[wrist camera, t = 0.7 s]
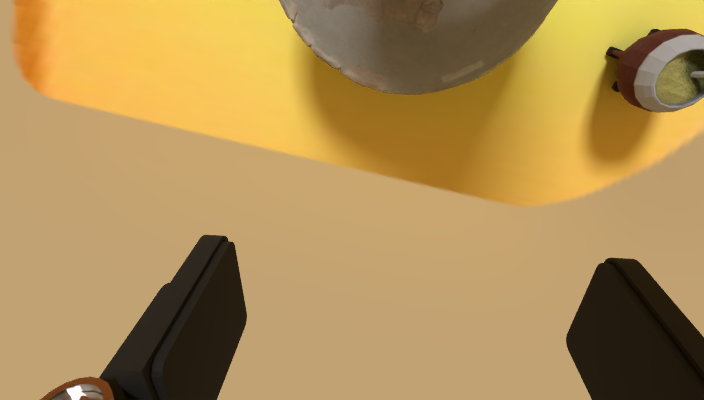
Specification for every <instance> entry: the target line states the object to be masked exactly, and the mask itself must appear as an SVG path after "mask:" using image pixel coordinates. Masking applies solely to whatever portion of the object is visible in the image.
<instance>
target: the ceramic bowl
mask: <svg viewBox="0 0 704 400" xmlns="http://www.w3.org/2000/svg"><path fill="white" fill-rule="evenodd" d="M279 1H280V3H281V5H282V7H283V9H284V11H285V13H286V15H287V17H288V18H289V19H291V21H292V23H293V28H294V29H295V31H296V32H297V33H298V35H299V36H300V37H301V39H302V40H303V41H304V42H305V43H306V45H307V46H309V47H311V49H312V50H313V51H314V53H315V54H316V55H317V56H318V57H319V58H320V59H322V60H323V61H325V62H326V63H327V64H329V65H330V66H331V67H332V68H335V69H339V70H340V71H341V73H342V74H343V75H344V76H346V77H347V78H349V79H350V80H352V81H354V82H356V83H358V84H360V85H362V86H365V87H369V88H372V89H376V90H379V91H382V92H385V93H394V94H408V95H416V94H425V93H431V92H437V91H441V90H444V89H448V88H452V87H455V86H458V85H461V84H464V83H467V82H469V81H472V80H475V79H477V78H479V77H481V76H483V75H485V74H486V73H488V72H490V71H491V70H493V69H494V68H495V67H497V66H498V65H500V64H501V63H502V62H504V61H505V60H507V59H508V58H509V57H511V56H512V55H513V54H514V53H515V52H517V51H518V50H519V49H520V48H521V47H522V46H523V45H524V43H525V42H526V41H527V40H528V39H529V38H530V37H531V36H532V35H533V34H534V33H535V32H536V30H537V29H538V28H539V26H540V25H541V24H542V22H543V21H544V20H545V18H546V16H547V15H548V13H549V12H550V10H551V9H552V8H553V6H554V5H555V4H556V2H557V1H558V0H279Z"/></svg>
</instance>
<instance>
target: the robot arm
mask: <svg viewBox="0 0 704 400" xmlns="http://www.w3.org/2000/svg"><path fill="white" fill-rule="evenodd" d="M246 319H247V313H246V307H245V301H244V296H243V290H242V284H241V279H240V272H239V267H238V261H237V256H236V250H235V245H234V243H233V242H229V241H228V238H227V237H226V236H216V235H203V236H202V237H201V238H200V239H199V241H198V242H197V244H196V245H195V247H194V248H193V250H192V251H191V253H190V254H189V256H188V257H187V259H186V260H185V262H184V263H183V265H182V266H181V268H180V269H179V270H178V272H177V273H176V275H175V276H174V278H173V280H172V281H171V282H170V283H167V284H165V285H164V286H163V287H162V288H161V289H160V291H159V292H158V293H157V295H156V296H155V298H154V299H153V301H152V302H151V304H150V305H149V307H148V308H147V309H146V311H145V312H144V314H143V315H142V317H141V318H140V319H139V321H138V322H137V324H136V325H135V327H134V328H133V330H132V331H131V333H130V334H129V335H128V337H127V338H126V340H125V341H124V343H123V344H122V345H121V347H120V348H119V350H118V351H117V353H116V354H115V355H114V357H113V358H112V360H111V361H110V363H109V364H108V366H107V367H106V369H105V370H104V371H103V373H102V374H101V376H100V377H99V378H95V377H84V378H78V379H75V380H72V381H69V382H66V383H64V384H62V385H61V386H59V387H57V388H55V389H53V390H52V391H50V392H49V393H48V394H47V395H45V396H44V397H43V398H42V399H40V400H217V398H218V395H219V392H220V390H221V387H222V385H223V382H224V380H225V377H226V374H227V372H228V369H229V367H230V364H231V361H232V359H233V356H234V354H235V351H236V349H237V346H238V343H239V341H240V338H241V336H242V333H243V330H244V328H245V325H246ZM566 343H567V347H568V350H569V352H570V354H571V357H572V359H573V361H574V363H575V365H576V367H577V369H578V371H579V373H580V375H581V378H582V380H583V382H584V384H585V386H586V388H587V390H588V392H589V394H590V396H591V399H592V400H704V337H703V336H702V335H701V334H700V332H699V331H698V330H697V329H696V328H695V327H694V325H693V324H692V323H691V322H690V321H689V320H688V319H687V317H686V316H685V315H684V314H683V313H682V311H681V310H680V309H679V308H678V307H677V306H676V305H675V303H674V302H673V301H672V300H671V299H670V297H669V296H668V295H667V294H666V293H665V292H664V290H663V289H662V288H661V287H660V286H659V285H658V284H657V282H656V281H655V280H654V279H653V278H652V276H651V275H650V274H649V273H648V272H647V271H646V269H645V268H644V267H643V266H642V265H641V264H640V263H639V262H638V261H637V260H635V259H623V258H608V259H606V260H605V262H604V263H601V264H599V265H598V266H597V268H596V270H595V273H594V275H593V277H592V279H591V281H590V284H589V286H588V288H587V291H586V293H585V295H584V297H583V300H582V302H581V304H580V306H579V309H578V311H577V313H576V316H575V318H574V320H573V322H572V324H571V327H570V329H569V331H568V333H567V337H566Z"/></svg>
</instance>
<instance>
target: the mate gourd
mask: <svg viewBox="0 0 704 400" xmlns="http://www.w3.org/2000/svg"><path fill="white" fill-rule="evenodd" d="M606 54H607V55H609V56H611V57H614V58H616V59H619V61H618V65H617V70H616V79H617V80H616V82H615V83H614V85H613V86H612V89H613V90H614V91H617V92H621V94H622V95H623V97H624V98H625V99H626V100H627V101H628V102H629V103H630V104H632V105H634V106H637V107H639V108H642V109H645V110H647V111H654V112H674V111H677V110H680V109H683V108H686V107H688V106H691V105H693V104H695V103H696V102H698V101H699V100H700V99H702V98H703V97H704V36H703V35H701V34H699V33H696V32H694V31H691V30H688V29H670V30H658V29H652V30H651V31H650V33H649V34H648V35H647V36H646V37H643V38H641V39H639V40H637V41H636V42H635V43H634V44H632V45H631V46H630V47H628V48H627V49H626V50H625V51H622V50H619V49H617V48H614V47H610V48H609V49H608V50H607V52H606Z"/></svg>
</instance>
